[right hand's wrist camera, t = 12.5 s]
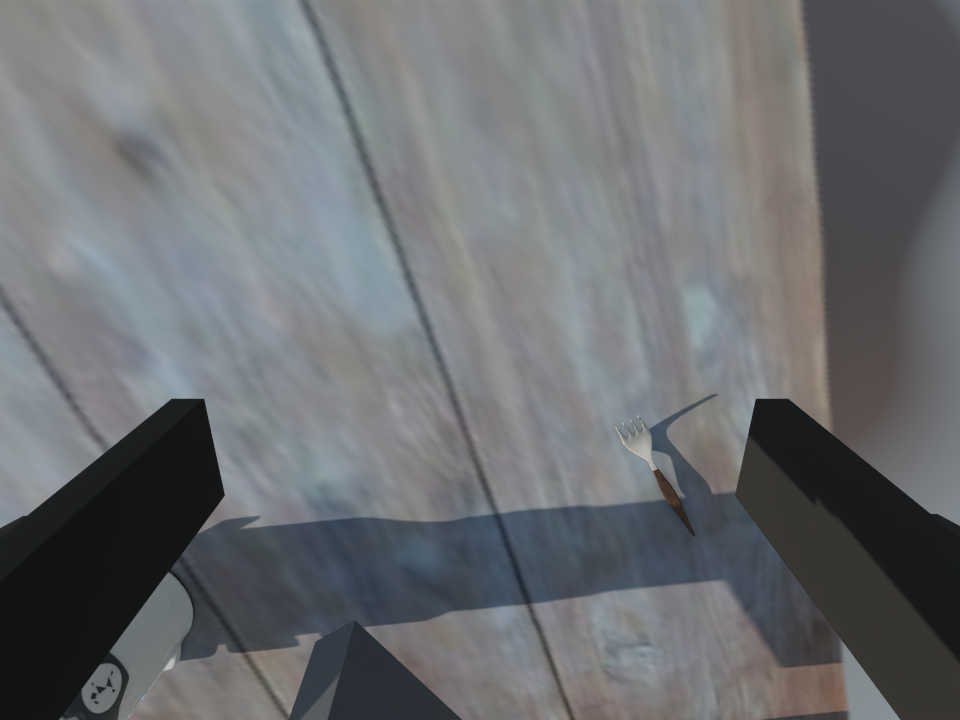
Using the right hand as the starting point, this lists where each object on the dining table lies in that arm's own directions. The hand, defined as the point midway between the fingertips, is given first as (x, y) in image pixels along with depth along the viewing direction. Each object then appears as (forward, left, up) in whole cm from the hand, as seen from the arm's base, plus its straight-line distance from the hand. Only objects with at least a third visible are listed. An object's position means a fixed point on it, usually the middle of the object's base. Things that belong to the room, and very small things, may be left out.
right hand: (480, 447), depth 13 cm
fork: (+4, +27, -31) cm, 42 cm away
